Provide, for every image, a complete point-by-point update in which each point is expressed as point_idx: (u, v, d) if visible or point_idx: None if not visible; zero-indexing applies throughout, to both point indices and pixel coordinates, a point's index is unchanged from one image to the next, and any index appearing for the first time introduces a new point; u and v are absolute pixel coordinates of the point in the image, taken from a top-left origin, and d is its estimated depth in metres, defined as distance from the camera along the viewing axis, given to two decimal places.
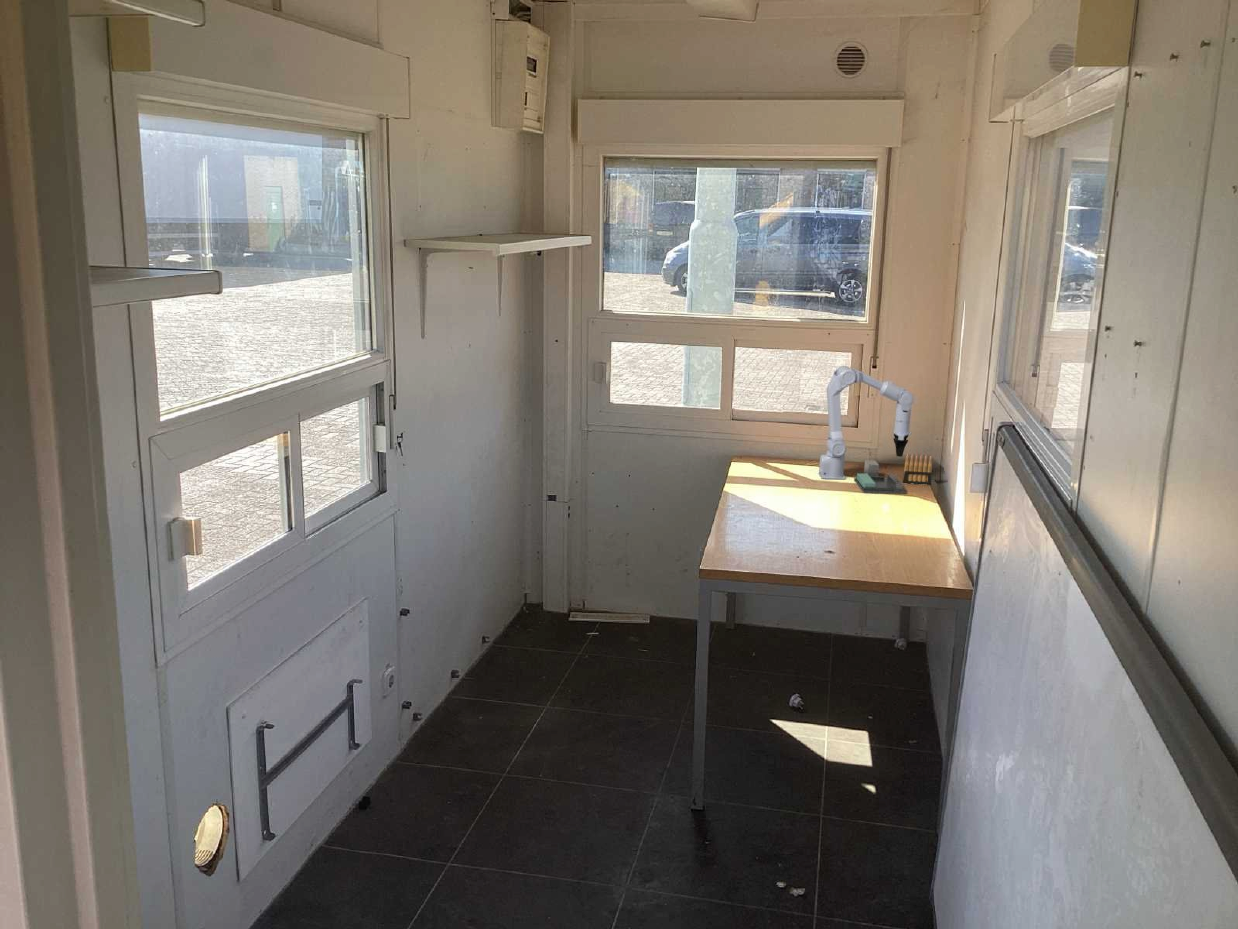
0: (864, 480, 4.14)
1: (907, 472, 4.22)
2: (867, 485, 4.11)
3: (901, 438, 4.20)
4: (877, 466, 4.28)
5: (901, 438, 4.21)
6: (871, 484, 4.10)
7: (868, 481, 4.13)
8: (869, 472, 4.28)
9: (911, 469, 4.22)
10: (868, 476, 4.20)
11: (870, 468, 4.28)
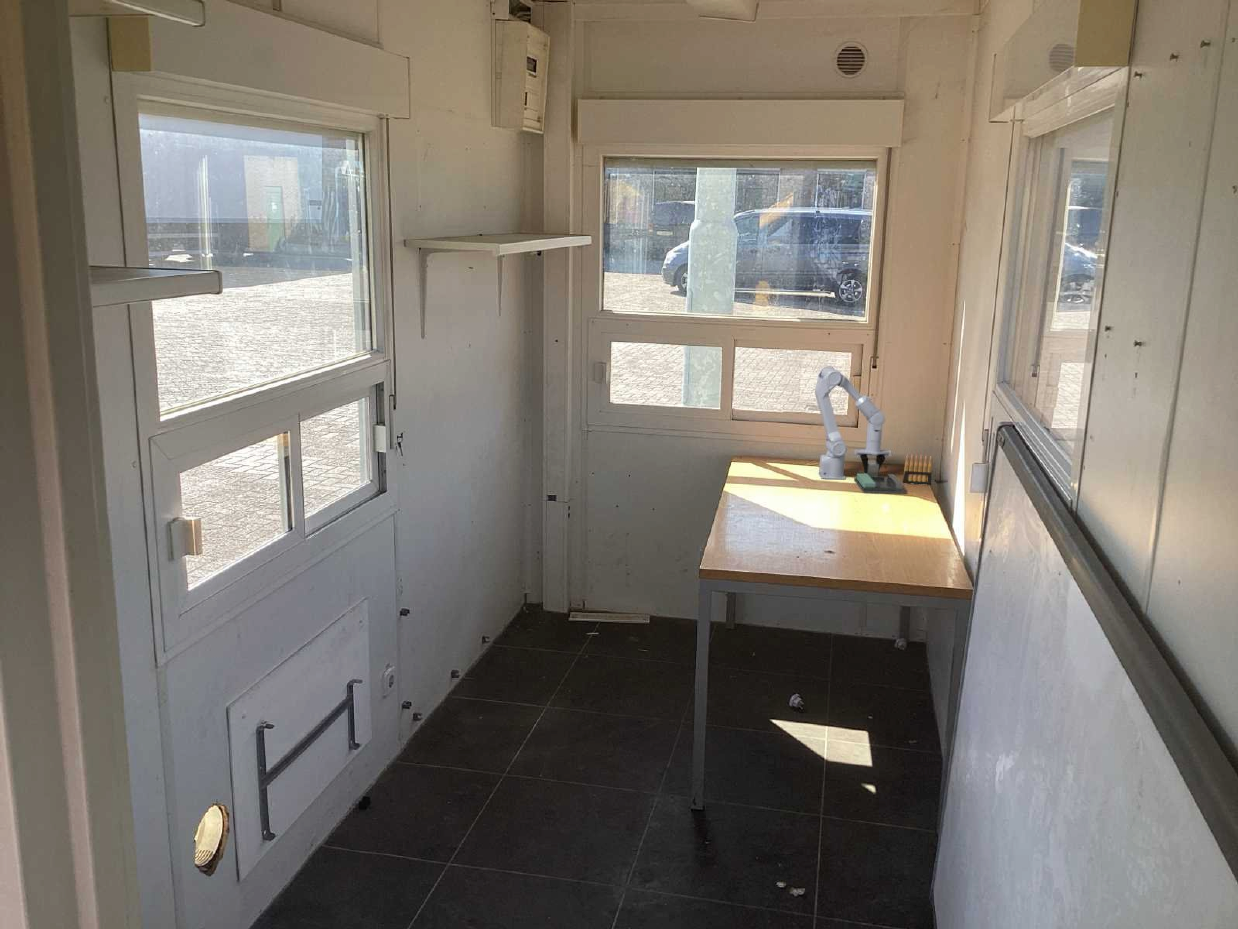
0: (864, 480, 4.14)
1: (907, 472, 4.22)
2: (867, 485, 4.11)
3: (854, 453, 4.30)
4: (877, 466, 4.28)
5: (855, 453, 4.30)
6: (871, 484, 4.10)
7: (868, 481, 4.13)
8: (869, 472, 4.28)
9: (911, 469, 4.22)
10: (868, 476, 4.20)
11: (870, 468, 4.28)
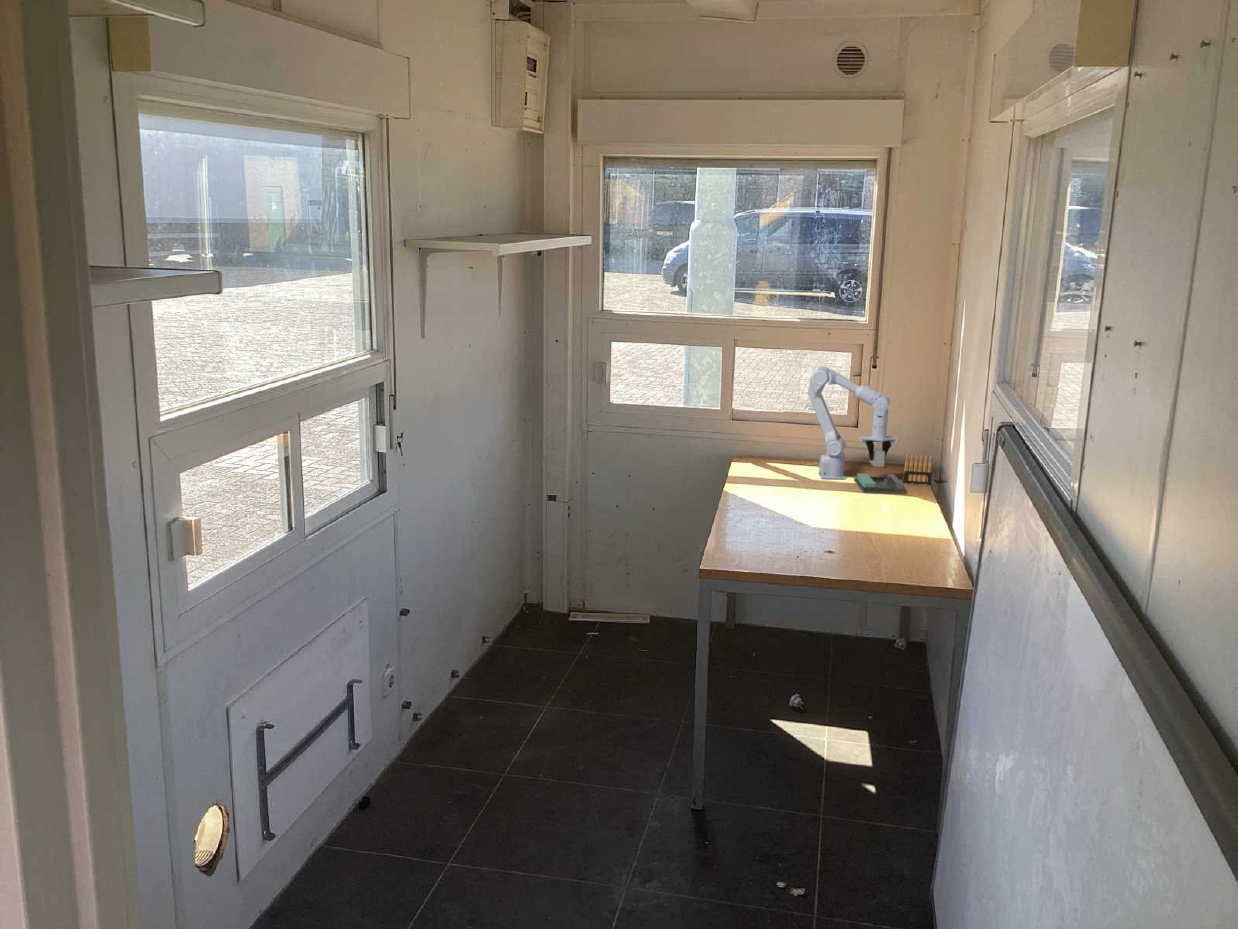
0: (864, 480, 4.14)
1: (907, 472, 4.22)
2: (867, 485, 4.11)
3: (860, 440, 4.22)
4: (883, 453, 4.20)
5: None
6: (871, 484, 4.10)
7: (868, 481, 4.13)
8: (875, 459, 4.20)
9: (911, 469, 4.22)
10: (868, 476, 4.20)
11: (876, 455, 4.20)
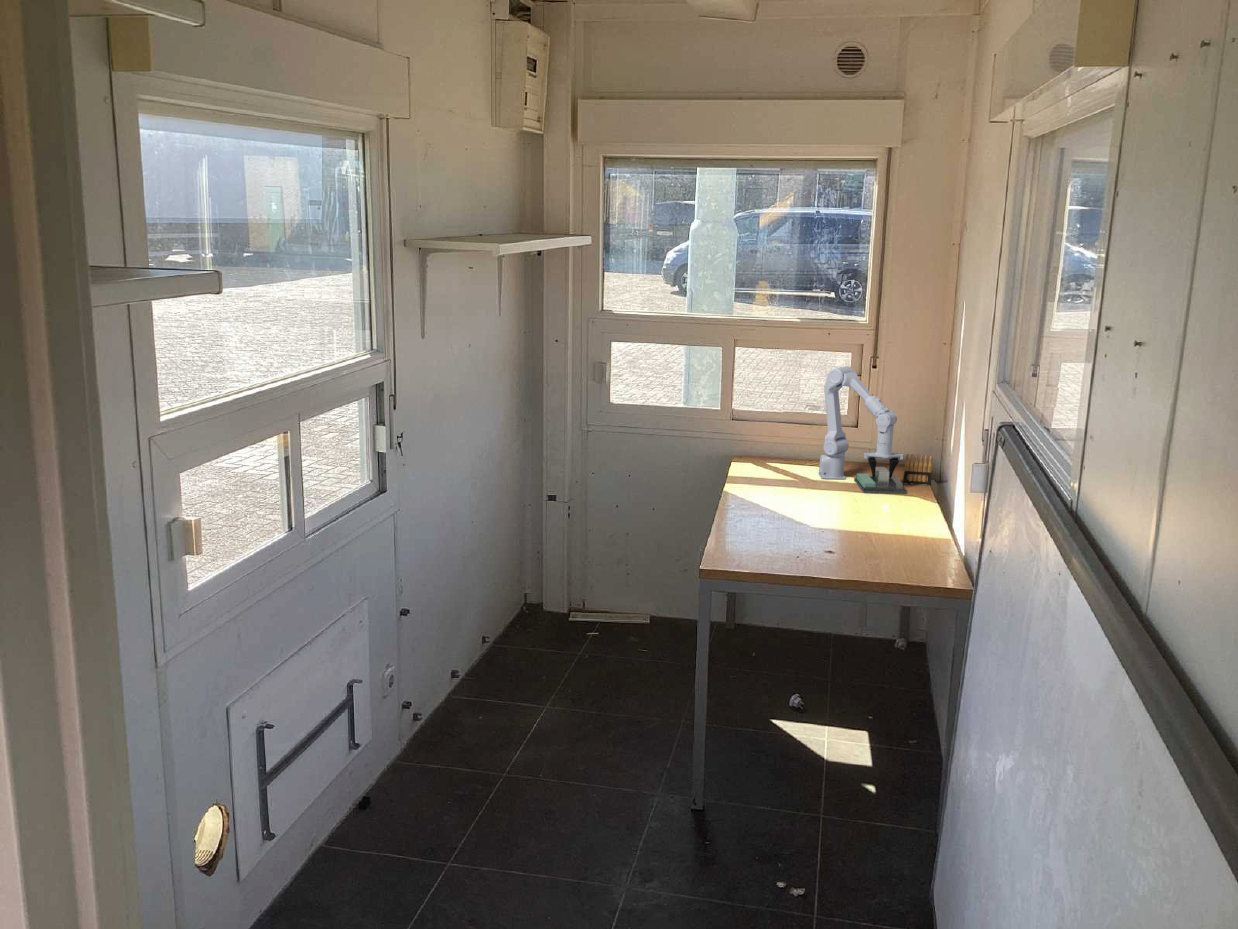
0: (864, 480, 4.14)
1: (907, 472, 4.22)
2: (867, 485, 4.11)
3: (864, 456, 4.15)
4: (887, 473, 4.13)
5: (865, 457, 4.15)
6: (871, 484, 4.10)
7: (868, 481, 4.13)
8: (879, 479, 4.14)
9: (911, 469, 4.22)
10: (868, 476, 4.20)
11: (880, 475, 4.13)
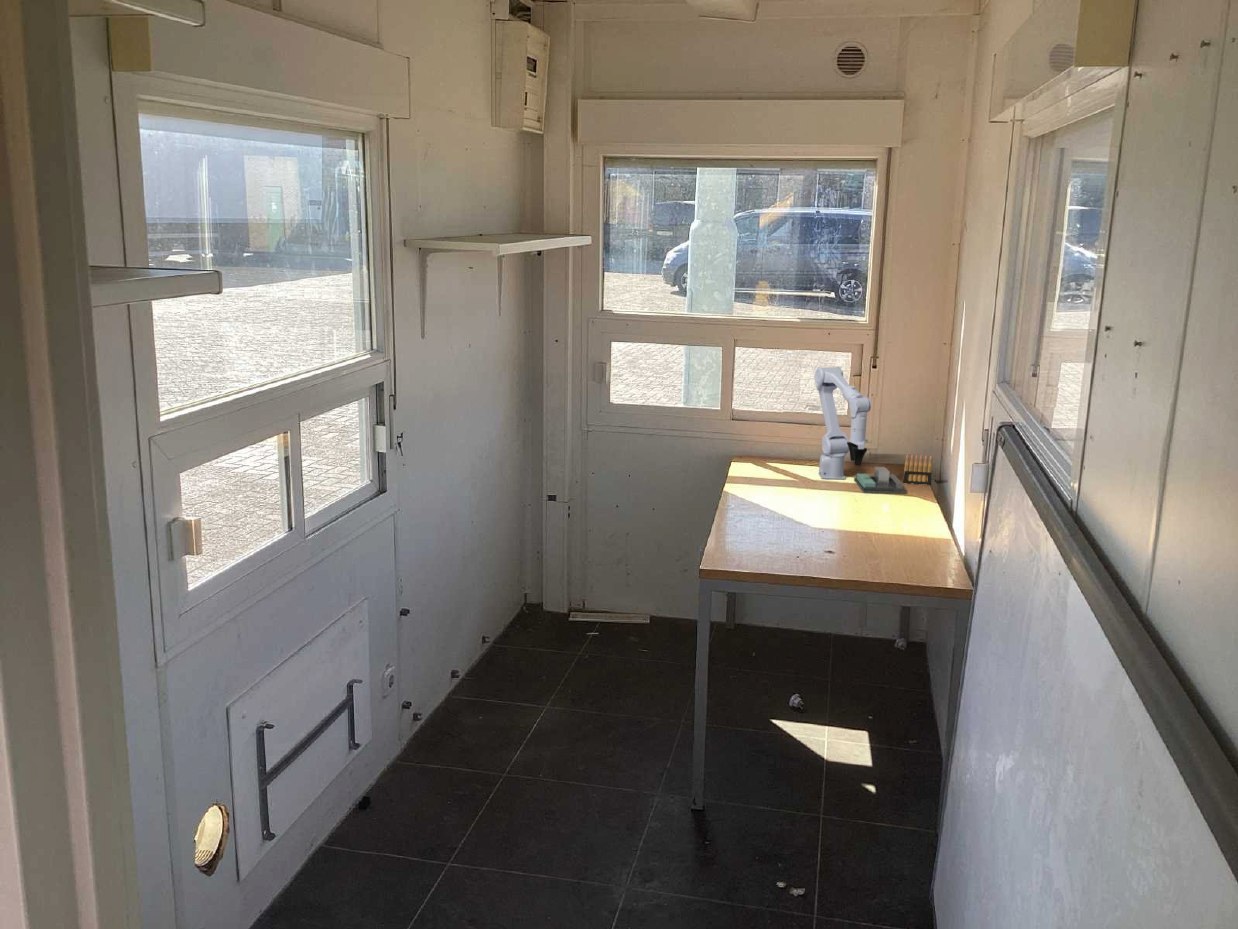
0: (864, 480, 4.14)
1: (907, 472, 4.22)
2: (867, 485, 4.11)
3: (861, 447, 4.06)
4: (887, 473, 4.13)
5: (862, 447, 4.07)
6: (871, 484, 4.10)
7: (868, 481, 4.13)
8: (879, 479, 4.14)
9: (911, 469, 4.22)
10: (868, 476, 4.20)
11: (880, 475, 4.13)
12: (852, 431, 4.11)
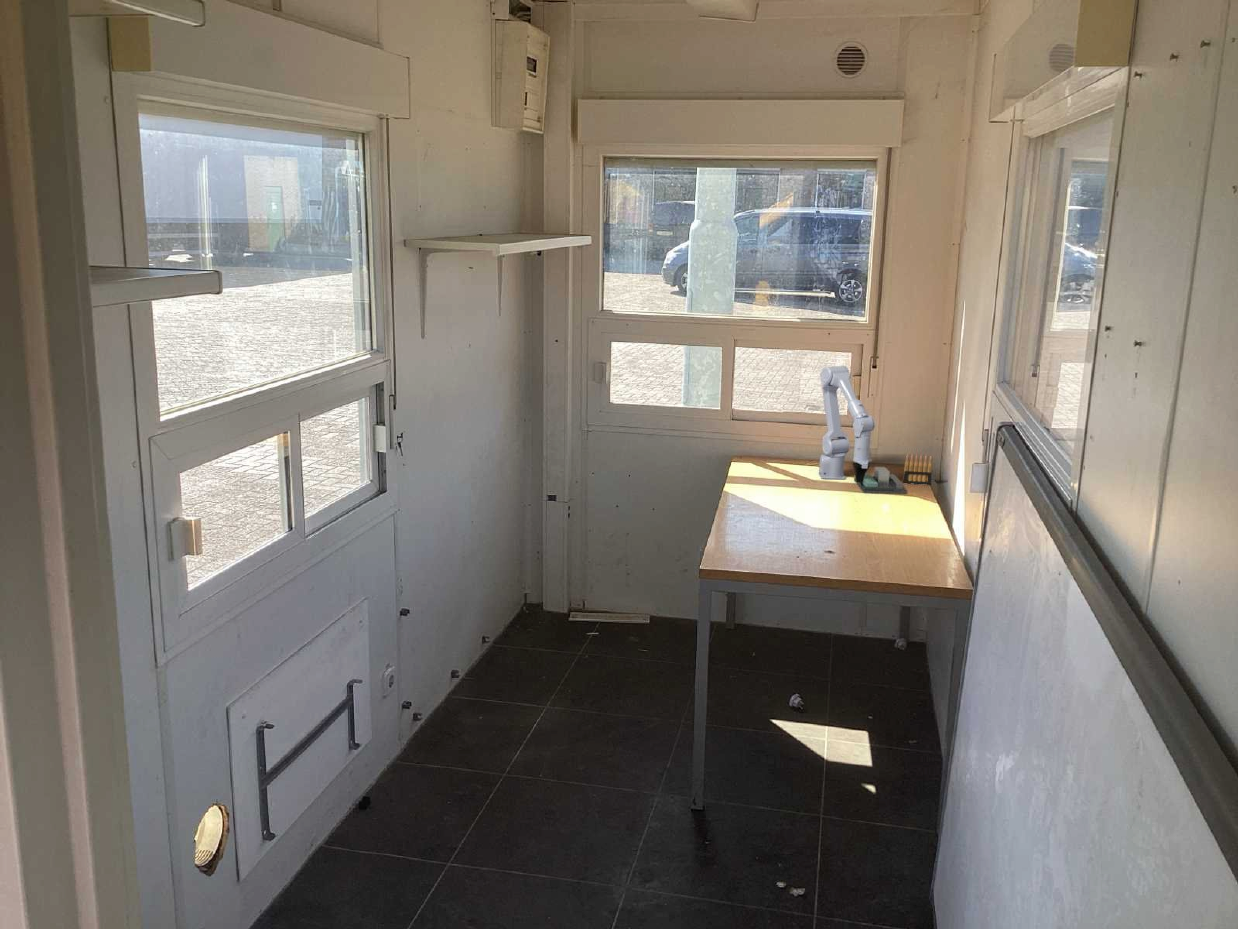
0: (866, 480, 4.14)
1: (907, 472, 4.22)
2: (869, 485, 4.11)
3: (865, 466, 4.08)
4: (887, 473, 4.13)
5: (865, 467, 4.09)
6: (873, 484, 4.10)
7: (870, 481, 4.13)
8: (879, 479, 4.14)
9: (911, 469, 4.22)
10: (870, 476, 4.20)
11: (880, 475, 4.13)
12: (856, 450, 4.13)
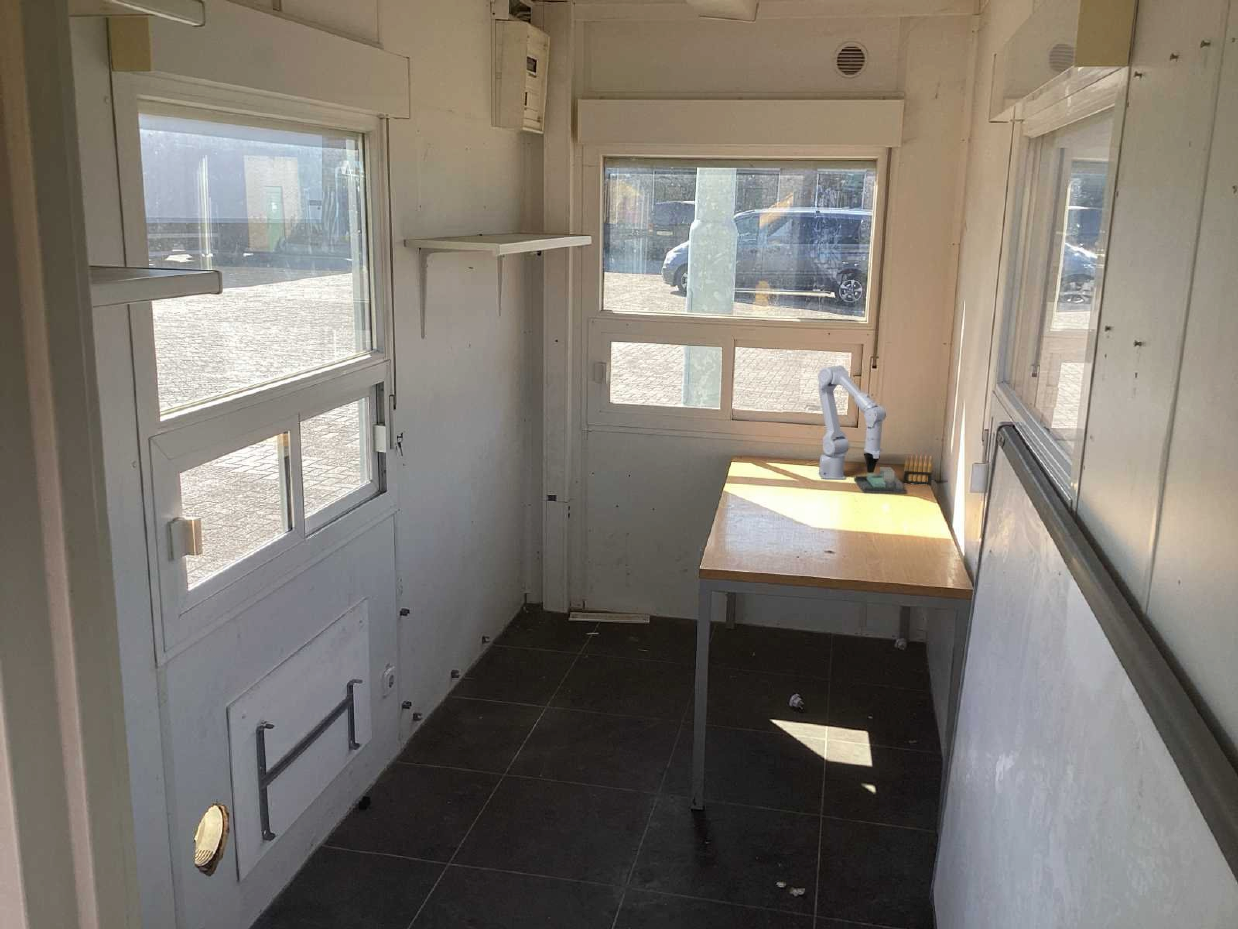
0: (874, 480, 4.14)
1: (907, 472, 4.22)
2: (877, 485, 4.11)
3: (876, 456, 4.07)
4: (893, 473, 4.13)
5: (877, 457, 4.08)
6: (881, 484, 4.10)
7: (878, 481, 4.13)
8: (884, 479, 4.14)
9: (911, 469, 4.22)
10: (878, 476, 4.20)
11: (885, 475, 4.13)
12: (867, 440, 4.12)
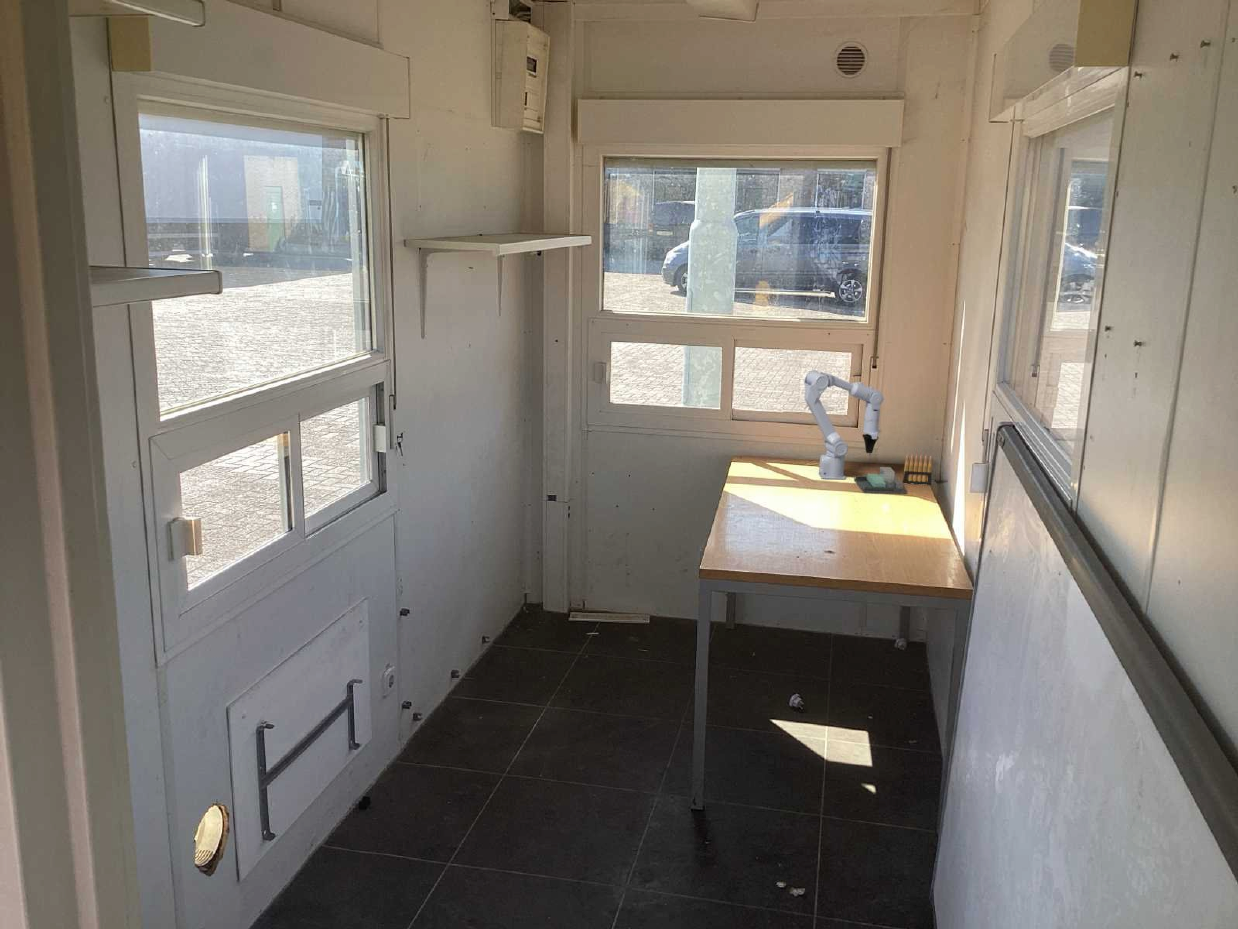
0: (874, 480, 4.14)
1: (907, 472, 4.22)
2: (877, 485, 4.11)
3: (875, 437, 4.23)
4: (893, 473, 4.13)
5: (875, 437, 4.23)
6: (881, 484, 4.10)
7: (878, 481, 4.13)
8: (884, 479, 4.14)
9: (911, 469, 4.22)
10: (878, 476, 4.20)
11: (885, 475, 4.13)
12: (866, 422, 4.27)
